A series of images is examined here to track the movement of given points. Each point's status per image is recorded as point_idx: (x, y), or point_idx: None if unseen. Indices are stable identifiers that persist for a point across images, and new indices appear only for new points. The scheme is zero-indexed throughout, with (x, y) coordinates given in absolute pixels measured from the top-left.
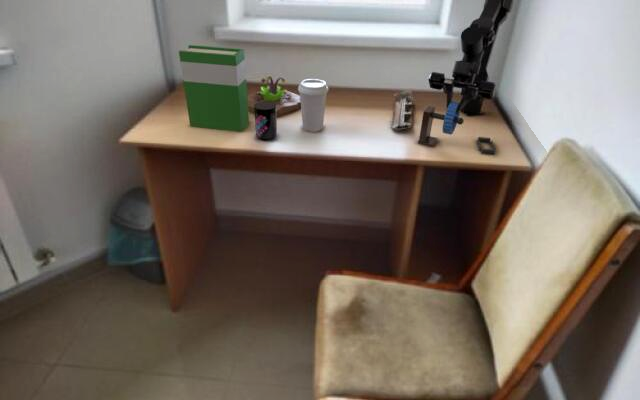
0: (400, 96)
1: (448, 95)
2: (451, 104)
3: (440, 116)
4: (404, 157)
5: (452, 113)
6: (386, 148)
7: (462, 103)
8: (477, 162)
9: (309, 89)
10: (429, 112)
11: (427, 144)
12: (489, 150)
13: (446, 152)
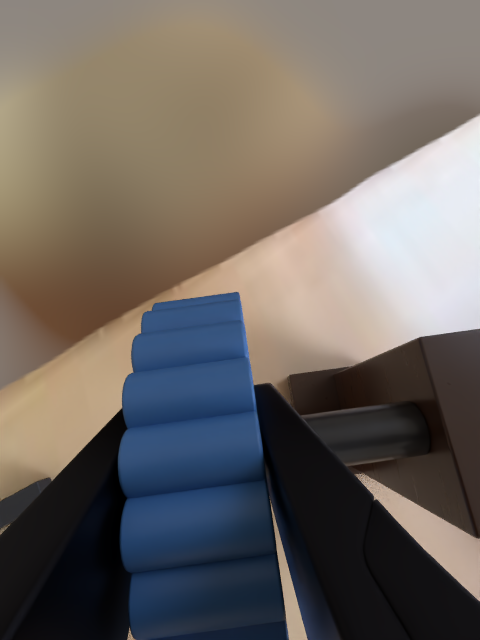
0: None
1: (388, 566)
2: (224, 420)
3: (321, 415)
4: (333, 210)
5: (162, 310)
6: (441, 230)
7: (33, 504)
8: (52, 367)
9: None
10: (426, 339)
11: (315, 372)
12: (2, 502)
13: None
